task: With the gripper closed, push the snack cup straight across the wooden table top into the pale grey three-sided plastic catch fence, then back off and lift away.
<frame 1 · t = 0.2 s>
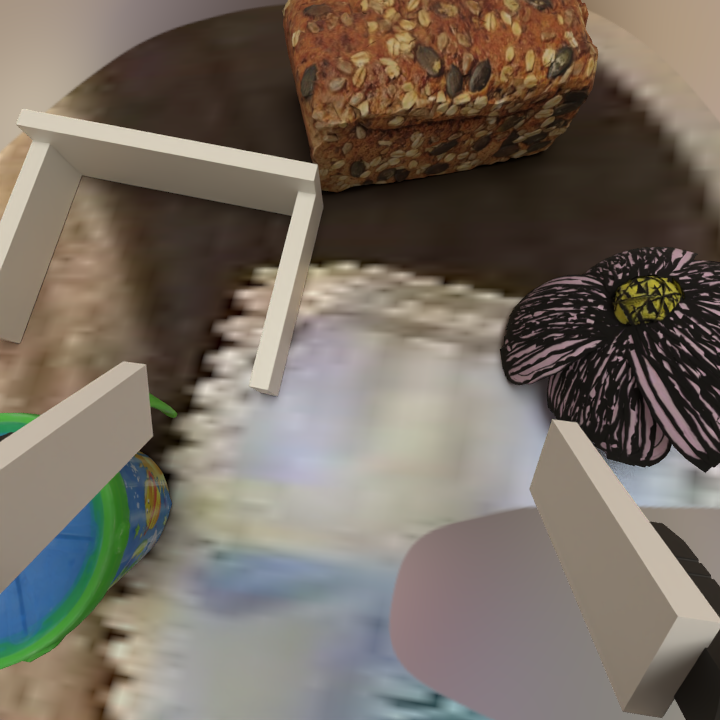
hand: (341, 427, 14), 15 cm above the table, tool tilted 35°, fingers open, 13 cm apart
catch fence: (168, 275, 31), on the table
snack cup: (119, 504, 28), on the table
decorative flower: (594, 360, 31), on the table
bread: (420, 126, 34), on the table
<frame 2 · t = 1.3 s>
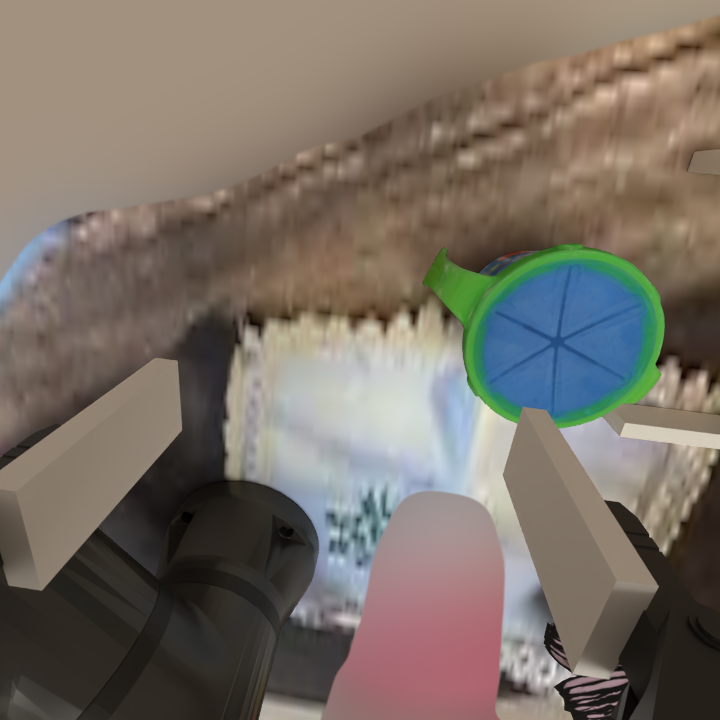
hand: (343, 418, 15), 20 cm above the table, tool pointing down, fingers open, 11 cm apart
snack cup: (514, 299, 33), on the table
decorative flower: (602, 602, 44), on the table
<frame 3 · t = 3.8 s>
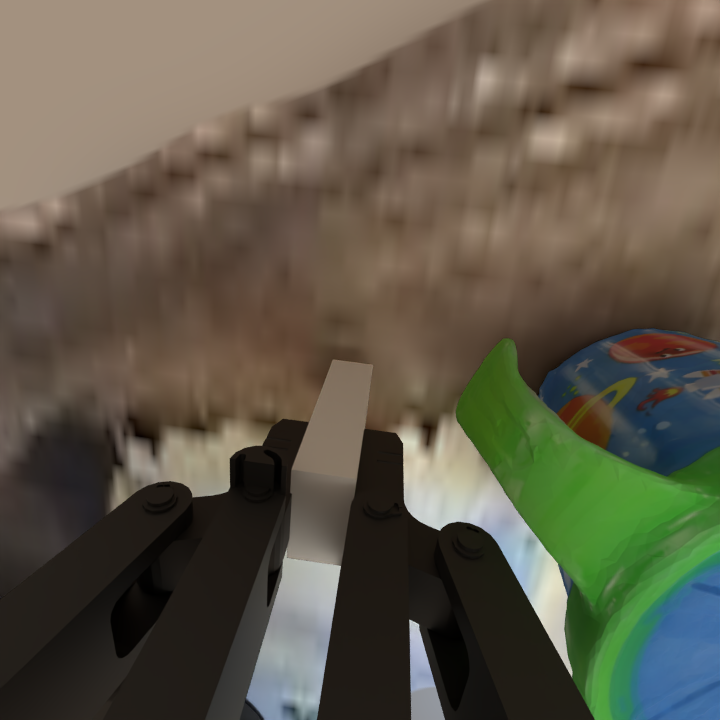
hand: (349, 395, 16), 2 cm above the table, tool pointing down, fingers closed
snack cup: (619, 410, 17), on the table
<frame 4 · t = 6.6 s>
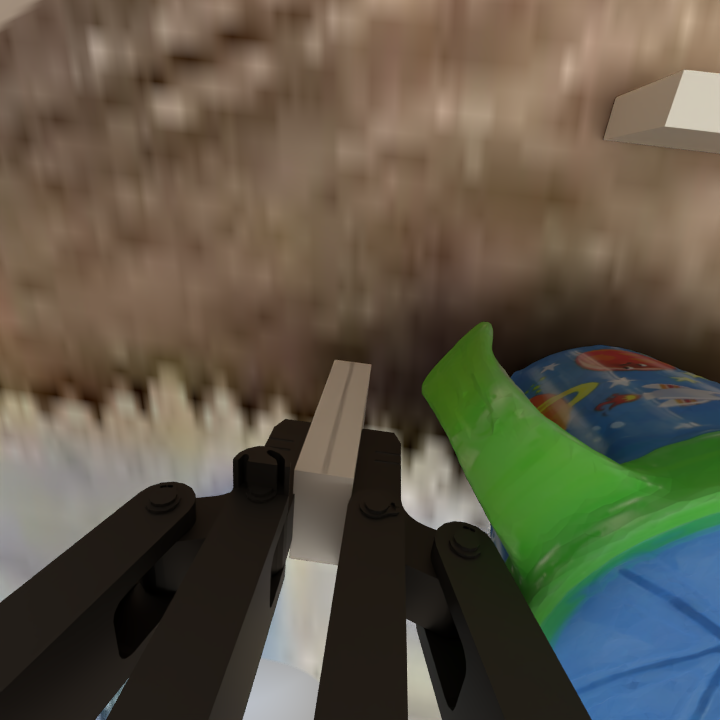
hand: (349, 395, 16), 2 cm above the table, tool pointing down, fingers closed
catch fence: (708, 404, 17), on the table
snack cup: (572, 422, 18), on the table, touching gripper, hand
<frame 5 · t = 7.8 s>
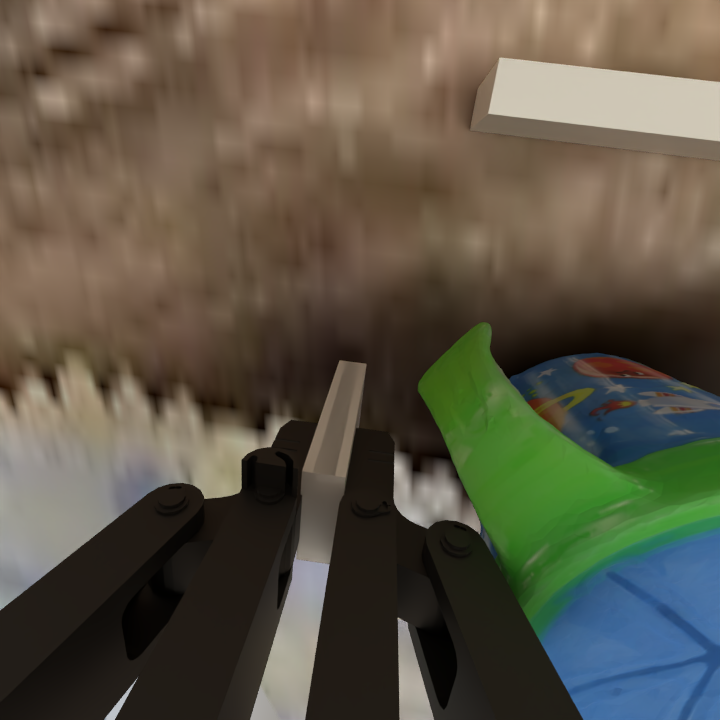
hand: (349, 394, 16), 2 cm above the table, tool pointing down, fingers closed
catch fence: (598, 395, 17), on the table
snack cup: (567, 429, 18), on the table, touching catch fence, gripper, hand
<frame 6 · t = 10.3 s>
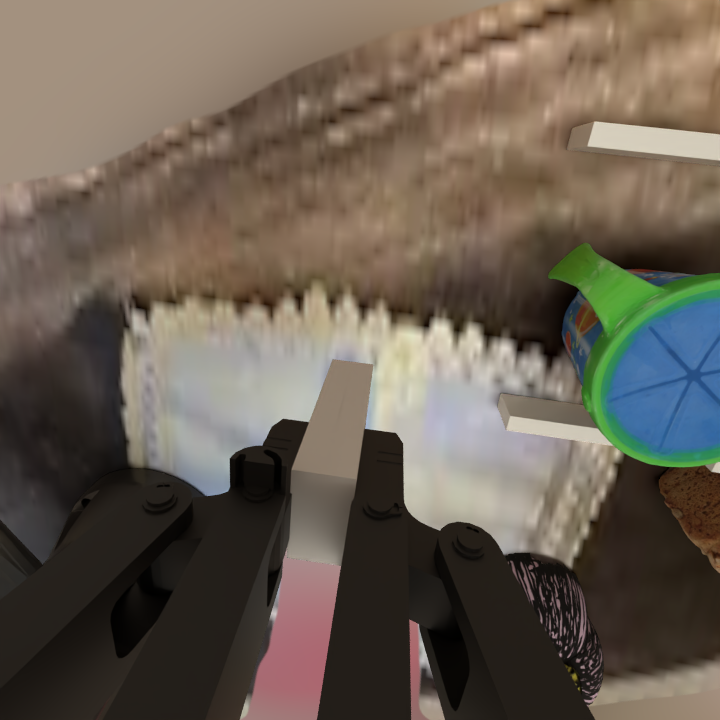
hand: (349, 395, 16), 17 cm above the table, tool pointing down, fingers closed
catch fence: (631, 298, 30), on the table
snack cup: (613, 319, 31), on the table
decorative flower: (517, 601, 43), on the table
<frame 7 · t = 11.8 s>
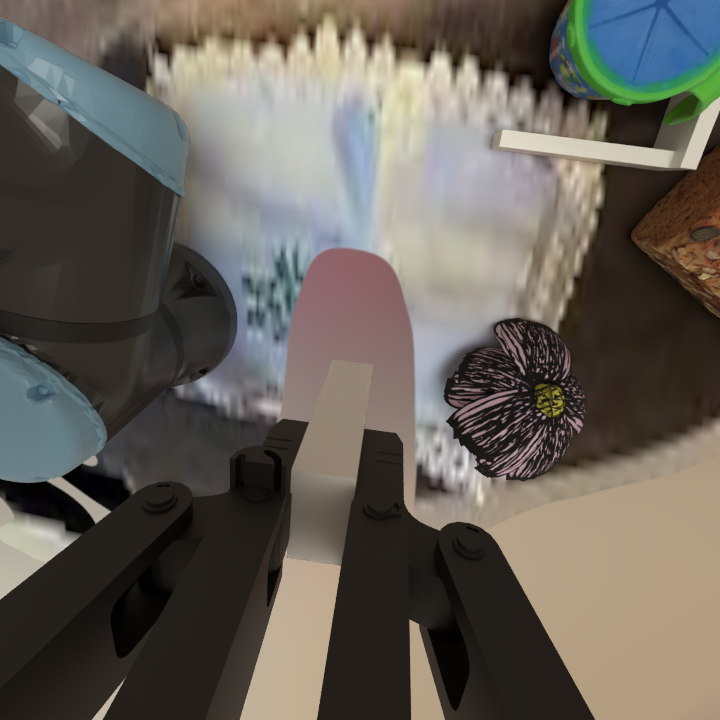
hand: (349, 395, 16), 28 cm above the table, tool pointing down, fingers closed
catch fence: (610, 21, 33), on the table
snack cup: (595, 47, 34), on the table
decorative flower: (507, 378, 46), on the table
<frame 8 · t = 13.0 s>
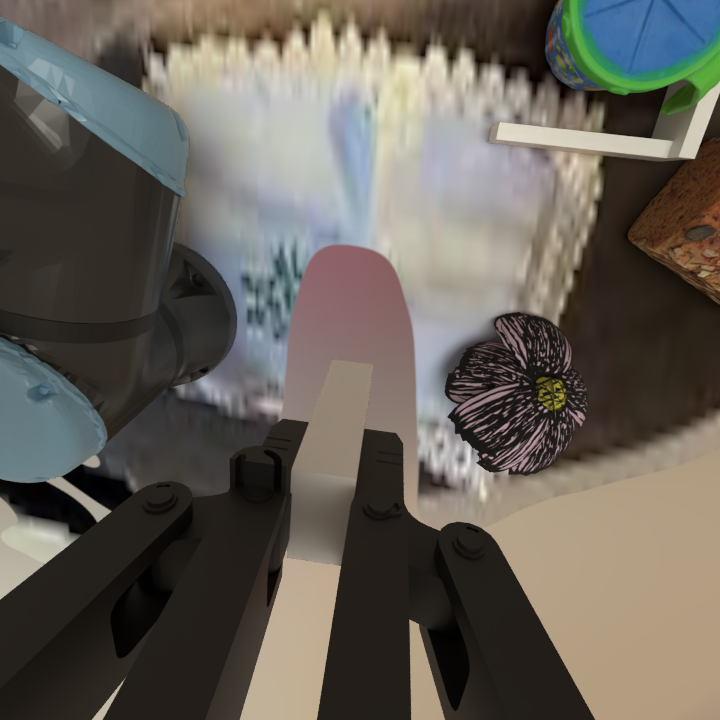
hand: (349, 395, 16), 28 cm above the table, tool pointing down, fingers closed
catch fence: (606, 11, 33), on the table
snack cup: (591, 38, 34), on the table
decorative flower: (508, 373, 46), on the table
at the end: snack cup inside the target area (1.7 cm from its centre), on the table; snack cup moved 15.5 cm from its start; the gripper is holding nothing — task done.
